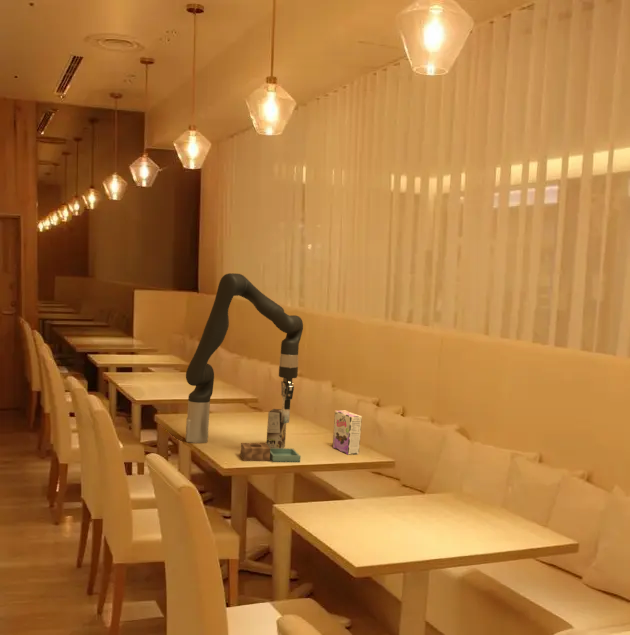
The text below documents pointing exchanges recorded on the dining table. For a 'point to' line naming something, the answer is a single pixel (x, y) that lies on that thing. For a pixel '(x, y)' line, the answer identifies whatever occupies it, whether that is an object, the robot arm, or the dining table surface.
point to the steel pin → (285, 413)
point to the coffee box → (276, 429)
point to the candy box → (347, 432)
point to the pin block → (255, 452)
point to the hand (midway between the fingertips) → (286, 408)
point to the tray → (284, 455)
